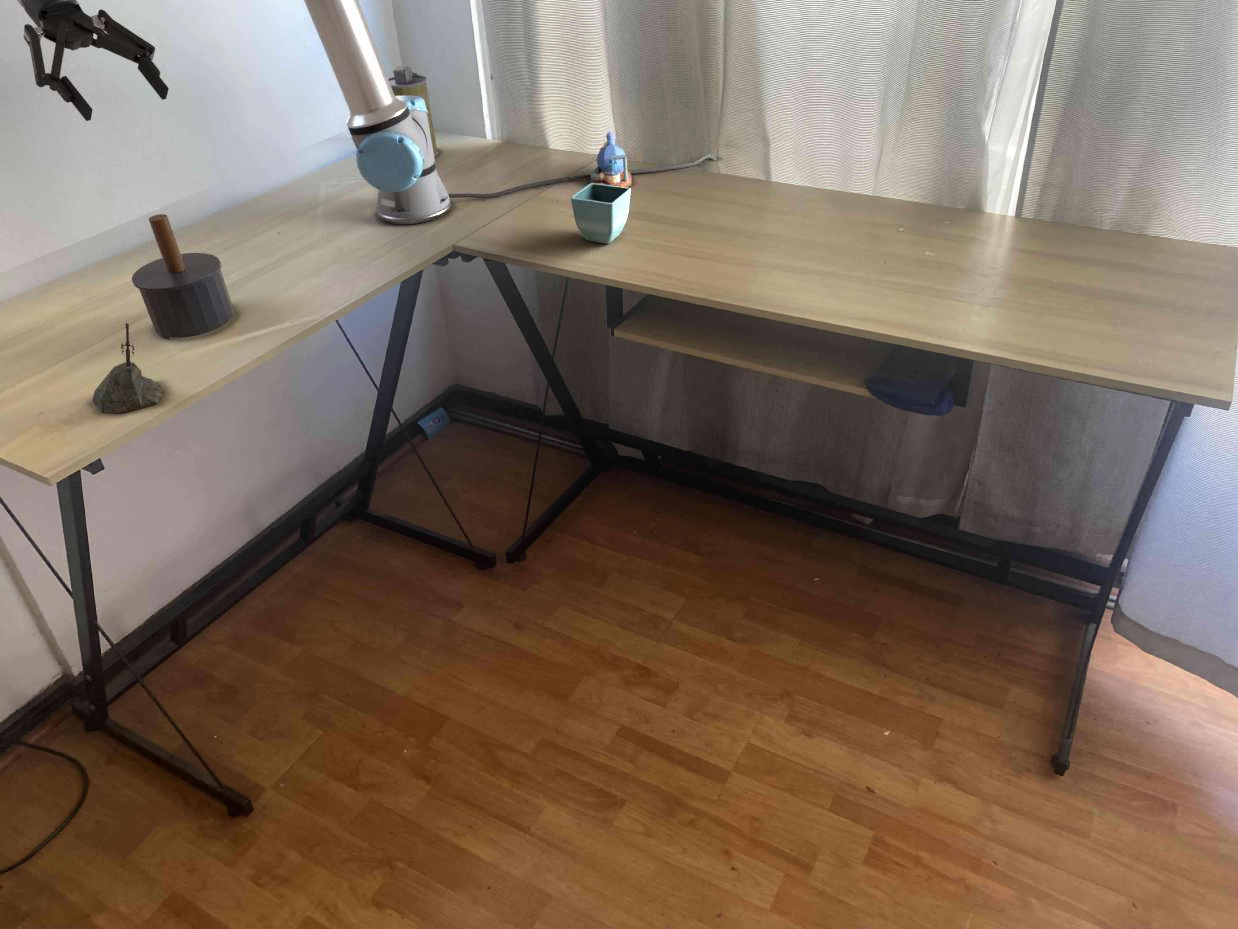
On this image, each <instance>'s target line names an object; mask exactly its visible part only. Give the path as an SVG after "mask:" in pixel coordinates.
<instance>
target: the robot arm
mask: <svg viewBox="0 0 1238 929" xmlns="http://www.w3.org/2000/svg"><path fill="white" fill-rule="evenodd" d="M303 1H304V4H305V6H306V9H307V11H308V13H309V16H310V18H311V21H312V23H313V25H314V28H315V30H316V32H317V35H318V37H319V40H320V42H321V46H322V47H323V50H324V52H325V54H326V56H327V60H328V62H329V64H330V66H331V69H332V72H333V74H334V76H335V78H336V81H337V84H338V86H339V88H340V91H341V93H342V96H343V98H344V100H345V103H346V105H347V107H348V111H349V116H348V118H347V120H346V127H347V129H348V131H349V134H350V136H351V139H352V141H353V143H354V146H355V148H356V153H355V158H356V159H355V161H356V166H357V169H358V171H359V173H360V175H361V177H362V178H363V179H364V181H365V182H367V184H369V185H370V187H372V188H375V189H377V190H378V191H377V197H376V198H377V199H376V211H377V216H378V219H380V220H381V221H383V222H386V223H389V224H394V225H416V224H422V223H427V222H431V221H435V220H438V219H440V218H442V217H443V216H445V215H447V214H448V213H450V211H451V209H452V204H451V203H452V202H451V199H452V198H453V199H457V198H459V199H460V198H461V199H462V198H472V199H489V198H495V197H497V198H498V197H501V196H504V195H508V194H511V193H514V192H518V191H522V190H526V189H527V190H528V189H532V188H535V187H540V186H544V185H545V186H546V185H550V184H556V183H562V182H569V181H570V182H571V181H576V180H578V181H579V180H586V179H590V178H591V173H587V174H579V175H572V176H564V177H558V178H552V179H546V180H540V181H537V182H531V183H527V184H526V183H525V184H523V185H518V186H515V187H511V188H507V189H504V190H501V191H497V192H496V191H495V192H489V193H472V192H471V193H468V192H467V193H448V191H447V189H446V186H445V185H444V184H443V181H442V179H441V177H440V175H439V174H438V171H437V166H436V159H435V157H434V153H433V147H432V141H431V135H430V129H429V123H428V116H427V114H428V111H427V109H426V105H425V101H424V100H423V99H422V98H421V97H419V96H394V93H393V90H392V88H391V85H390V82H389V80H388V78H389V77H388V74H387V72H386V70H385V67H384V64H383V62H382V59H381V56H380V54H379V50H378V48H377V46H376V44H375V41H374V38H373V35H372V32H371V31H370V27H369V24H368V23H367V19H366V17H365V14H364V12H363V9H362V7H361V5H360V4H361V3H360V1H359V0H303ZM16 2H17V3H18V4H19V5H20V6H21V7H22V8H23V9H24V11H25V13H26V14H27V15H28V16H29V19H31V21H32V22H33V23H34V24H35V26H36V27H33V25H31V24H28V23H26V24H24V27H23V39H24V41H25V43H26V44H27V46H28V47H29V51H30V52H29V53H30V58H31V62H32V68H33V76H34V81H35V85H36V86H37V87H38V88H44V87H45V86H47V87H48V86H49V89H50V90H51V91H53V92H57V94H58V95H59V96H60V97H61V99H63V101H64V102H65V103H67V104H68V103H71V104H72V106H73V107H74V108H75V109H76V110H77V111H78V113H79V114H80V115H81V117H83V119H84V120H85V121H86V122H89V121H91V120H92V116H93V110H94V108H92V107H91V105H90V104H89V102H87V101H86V99H85V98H84V97H83V95H82V94H81V93H80V91H79V90H78V89H77V87H75V85H74V83H73V82H72V81H71V80H70V79H69V77H68V76H67V75H63V76H61V73H62V68H63V67H62V66H63V61H64V56H65V49H66V50H71V52H72V51H77V50H79V49H85V48H90V47H94V48H96V49H103V50H106V51H108V52H110V53H112V54H115V55H117V56H119V57H122V58H124V59H126V60H128V61H131V62H132V63H134V64H137V70H138V71H139V73H141V75H142V76H143V77H144V79H145V80H146V81H147V82H148V84H149V85H150V86H151V88H152V89H153V90H154V91H155V93H156V94H157V95H158V97H159V98H160V99H161V100H162V101H163V100H167V97H168V94H169V89H170V88H169V86H168V85H167V84H166V83H165V81H164V80H163V79H162V78H161V71H160V69H159V68H158V67H157V66H156V64H155V62H153V60H154V56H155V53H156V47H155V46H154V45H153V44H151V43H150V42H149V41H147V40H145V39H143V37H140V35H138V34H136V33H135V32H133V31H131V29H128V28H127V27H126V26H123V25H122V24H121V23H119V22H118V21H116V20H115V19H114V18H112V17H111V15H110V14H109V13H108V12H107V11H106V10H104V9H99V10H98V11H97V14H95V15H91V16H90V15H89V14H87V13H86V12H85V11H83V9H82V7H81V5H80V3H79V2H78V0H16ZM94 35H96V38H94ZM42 38H44V39H45V40H48V41H49V42H52V43H53V44H55V46H54V52H53V57H52V63H51V68H50V72H46V68H45V62H44V57H43V56H44V55H43V50H42V46H41V42H42ZM710 155H711V154H709V153H707V154H703V155H701V156H700V157H699V158H697V159H696V160H693V161H691V162H686V163H682V164H675V165H667V166H658V167H651V168H641V169H640V168H639V169H630V170H628V169H627V172H630V174H631V175H636V174H648V173H655V172H656V173H657V172H664V171H671V170H678V169H679V170H680V169H685V168H690V167H694V166H696V165H698V164H700V163H701V162H703V161H705V160H706V159H710V160H712V161H717V160H718V159H717V158H716V156H714V155H713V156H710ZM623 172H624V171H623ZM599 174H600V173H599Z"/></svg>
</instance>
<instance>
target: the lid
mask: <svg viewBox="0 0 1238 929" xmlns="http://www.w3.org/2000/svg"><path fill="white" fill-rule="evenodd" d="M148 222H149V225H150V228H151V230H152V233H153V235H154V238H155V241H156V244H157V246H158V249H159V252H160V255H161V258H158V259H155V260H153V261H151V262H148V263H146V264H145V265H143V266H141V267H139V268H138V269H137V270H135V271H134V273H133V274H132V276H131V282H132V284H133V286H134V287H135V288H136V289H138V290H139V289H140V290H144V291H150V292H165V291H174V290H179V289H184V288H188V287H191V286H194V285H197V284H200V283H202V282H204V281H207V280H208V279H210V278H212V277H213V276H215V275H216V274H217V273H218V272H219V271H220V269H221V270H222V261H221V259H220V258H219V257H218V256H216V255H214V254H210V253H205V252H187V253H186V252H185V253H181V251H180V248H179V244H178V243H177V239H176V237H175V234H174V231H173V228H172V225H171V222H170V219H169V215H167V214H165V213H159V214H154V215H152V216H150V217H149V218H148ZM140 290H139V291H140Z"/></svg>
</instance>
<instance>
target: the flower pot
mask: <svg viewBox="0 0 1238 929" xmlns="http://www.w3.org/2000/svg"><path fill="white" fill-rule="evenodd" d="M631 192H632V189H631V188H630V187H618V186H610V185H603V184H595V183H591V184H590V183H589V184H587V185H586V186H584V187H583V188H582V189H581V190H579V191H577V193H576V192H575V194H574V195H572V196H571V197H570V201H571V202H570V203H571V207H572V212H573V218H574V222H575V224H576V227H577V229H578V231H579V233H580V234H581V236H582V237H583V238H584V239H585V240H586V241H589V242H597V243H601V244H603V243H604V244H611V243H612V242H613V241H614V240H615V239H616V238H617V237H618V236H620V234H621V233H622V231H623V229H624V227H625V225H626V223H627V220H628V216H629V211H630V201H631Z"/></svg>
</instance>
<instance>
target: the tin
mask: <svg viewBox="0 0 1238 929" xmlns="http://www.w3.org/2000/svg"><path fill="white" fill-rule="evenodd" d="M138 290H139V292H140V295H141V298H142V301H143V304H144V305H145V308H146V311H147V313H148V316H149V318H150V321H151V324H152V326H153V328H154V331H155V333H156V335H157V336H158V337H160V338H161V339H164V340H168V341H169V340H170V341H171V338H189V337H196V336H200V335H203V334H207V333H210V332H213V331H215V330H217V329H219V328H221V327H223V326H225V325H226V324H228V323H229V322H230V321H231V319H232V318H233V317H234V315H235V314H234V313H235V309H234V305H233V303H232V300H231V297H230V294H229V291H228V288H227V285H226V282H225V278H224V275H223V271H222V268H221V269H220V271H219V272H218V273H217V274H216V275H215V276H213V277H212V278H210V279H208V280H207V281H204V282H202V283H200V284H197V285H194V286H191V287H188V288H184V289H179V290H174V291H165V292H150V291H144V290H140V289H138Z"/></svg>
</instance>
